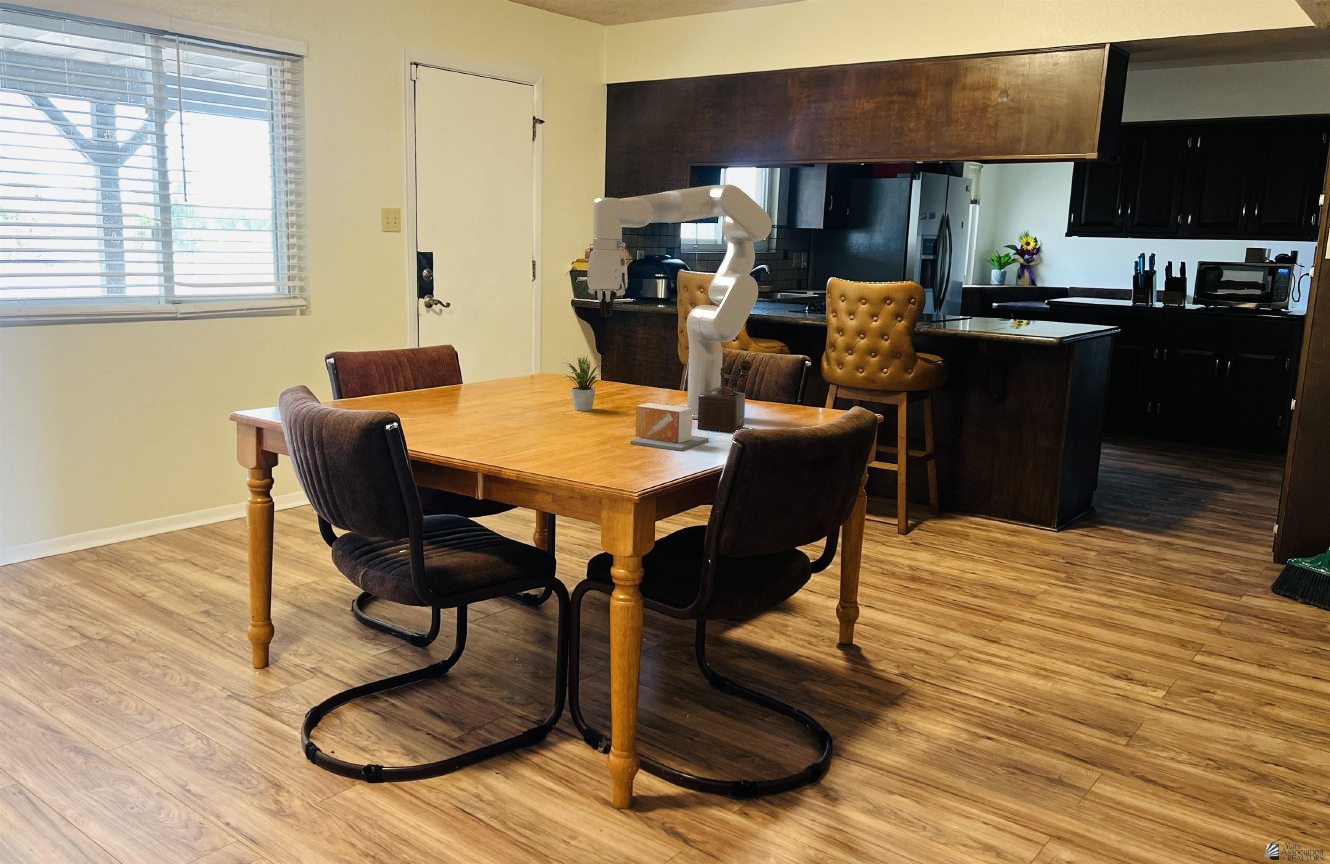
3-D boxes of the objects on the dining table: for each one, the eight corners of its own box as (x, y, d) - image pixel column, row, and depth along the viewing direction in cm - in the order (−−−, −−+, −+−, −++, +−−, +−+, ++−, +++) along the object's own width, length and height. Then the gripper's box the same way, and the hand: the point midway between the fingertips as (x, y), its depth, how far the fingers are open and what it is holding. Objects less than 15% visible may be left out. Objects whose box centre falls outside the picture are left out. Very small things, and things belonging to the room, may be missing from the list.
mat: (659, 434, 264) (659, 431, 264) (708, 441, 258) (708, 437, 258) (630, 444, 251) (630, 440, 251) (680, 451, 245) (680, 447, 245)
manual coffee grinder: (735, 433, 269) (738, 365, 265) (696, 429, 273) (698, 362, 269) (752, 424, 283) (755, 359, 280) (714, 420, 287) (717, 356, 284)
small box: (635, 405, 255) (679, 411, 248) (649, 402, 260) (693, 407, 253) (634, 437, 256) (678, 443, 249) (648, 433, 262) (692, 439, 255)
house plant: (549, 406, 303) (549, 351, 300) (593, 403, 309) (594, 350, 306) (565, 414, 290) (566, 356, 287) (610, 411, 296) (611, 355, 293)
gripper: (639, 247, 267) (637, 317, 270) (590, 245, 274) (589, 314, 277) (624, 247, 261) (623, 319, 264) (575, 245, 267) (574, 315, 271)
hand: (606, 316), depth 271 cm, fingers closed
